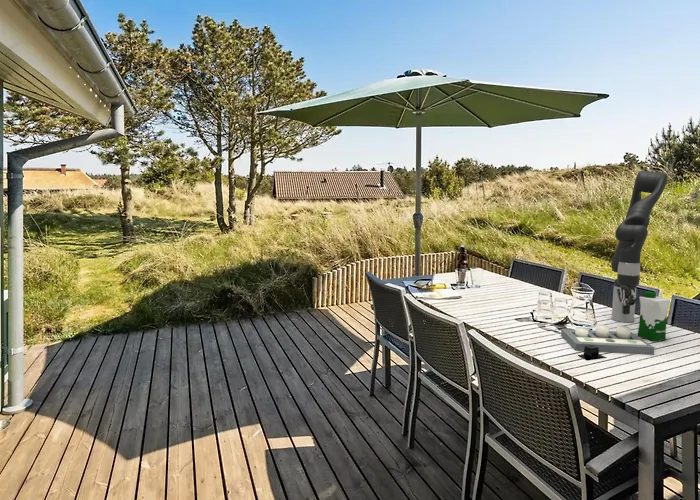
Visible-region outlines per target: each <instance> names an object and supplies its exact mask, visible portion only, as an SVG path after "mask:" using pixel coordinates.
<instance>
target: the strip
mask: <svg viewBox="0 0 700 500" xmlns="http://www.w3.org/2000/svg"><path fill="white" fill-rule="evenodd" d="M576 339H577V340H578V341H579V342H581V343H601V344H621V345H642V346H647V345H646V344H645V343H643V342H642V341H640V340H624V339H602V338H581V337H576Z"/></svg>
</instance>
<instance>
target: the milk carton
mask: <svg viewBox="0 0 700 500" xmlns="http://www.w3.org/2000/svg"><path fill="white" fill-rule="evenodd" d="M638 299H639V303H640V311H639V323H638V324H639V325H638V330H637V335H636V336H638V337H639V338H641V339H643V340H648V341H650V342H653V343H654V342H660V341H665V340H667V339H666V335H667V334H666V333H667V320H668V309H669V306H670V303H671V299H669V298H666V297H661V296H657V292H654V291H651V290H650V291H647V290H646V291H644V293H643V296H642V295H641V296H638Z"/></svg>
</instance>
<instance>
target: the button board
mask: <svg viewBox="0 0 700 500" xmlns="http://www.w3.org/2000/svg"><path fill="white" fill-rule="evenodd" d="M616 331H617V330H615V331H614V330H613V331H612V330H609V338H602V339H618V338H617V337H616ZM595 334H596V329H595V330H593V329H592V330H591V329H588V337H581V338H597V337H596V336H595ZM560 335H561V337H562V338H563V340H565V341H566V342H567V343H568V345H570V346H571V347H572V349H573V350H575V351H577V352H584V348H585V346H587V345H588V346H589V345H594V346H596V347H599V353H615V354H629V355H632V354H633V355H648V356H649V355H650V356H652V355H653V356H654V355H655V349H656V348H655V346H653V344H650V343H649V342H647V341H645V339H643V338H641V337H638V336H637V335H636V334H635V333H634V332H632V331H630V339H624V340H640V341H642V342H643V343H645V344H646V345H647V346H642V345H621V344H601V343H581V342H579V341H578V340H577V339H576V336H575V329H567V328H566V329H565V328H561V333H560Z"/></svg>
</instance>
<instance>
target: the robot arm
mask: <svg viewBox="0 0 700 500" xmlns="http://www.w3.org/2000/svg"><path fill="white" fill-rule="evenodd" d="M667 183H668V174H667V173H665V172H659V171H658V172H657V171H651V170H640V171H638V173H637V175H636V177H635V180H634V183H633V188H632V189H633V190H632V193H631V198H630V202H629V206H628V209H627V213H626V216H625V218H624V220H623V221H622V222H620V224H619V225H618V226H617V228H616V229H615V232H614V235H615V238H616V239H617V241H618V243H617V246H616V247H615V251H614V253H613V255H612V258H611V262H610V263H611V265H610V267H611V270H612V271H613V272H614V273H617V275H616V276H617V278H616V279H614V281H613V292H612V293H613V294H612V304H611V305H612V308H611V309H612V310H611V319H612V320H613V321H616V322H621V323H634V322H635V311H636V303H637V301H638V299H639V295H638V294H637V287H638V286H639V285H640V279H641V278H640V277H641V256H642V255H641V253H642V250H643V247H644V244H645V241H646V239H647V238H648V233H649V231H648V227H649V225H650V224H649V223H650V215H651V213H652V211H653V208H654V207H655V205H656V204H657V202H658V201H659V199H660V198H661V196H662V193H663V192H664V190H665V188H666V185H667ZM642 193H646V194H647V193H648V195H647V196H645V197H643V198H642Z"/></svg>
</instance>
